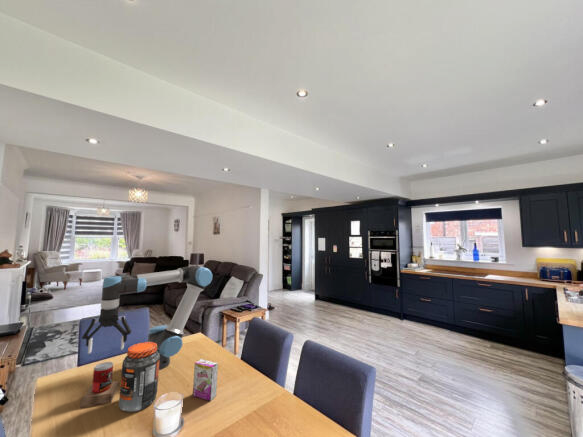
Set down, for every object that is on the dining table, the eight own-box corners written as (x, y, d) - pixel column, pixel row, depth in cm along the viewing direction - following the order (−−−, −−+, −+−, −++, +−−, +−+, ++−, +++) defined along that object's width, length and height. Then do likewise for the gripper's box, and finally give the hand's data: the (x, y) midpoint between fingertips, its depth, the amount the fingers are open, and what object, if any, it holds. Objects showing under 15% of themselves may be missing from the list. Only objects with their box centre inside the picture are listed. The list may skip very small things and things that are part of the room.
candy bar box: (191, 396, 124) (194, 362, 126) (198, 391, 129) (200, 358, 130) (210, 402, 120) (212, 367, 122) (216, 396, 125) (218, 362, 127)
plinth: (118, 388, 129) (119, 380, 129) (111, 402, 118) (111, 393, 118) (90, 392, 125) (91, 384, 125) (80, 407, 113) (81, 398, 114)
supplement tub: (117, 399, 120) (122, 344, 122) (153, 389, 129) (157, 337, 132) (119, 419, 107) (124, 357, 110) (159, 405, 117) (163, 348, 119)
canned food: (100, 394, 117) (103, 370, 118) (87, 392, 119) (89, 368, 120) (115, 385, 125) (117, 362, 126) (102, 383, 126) (104, 360, 127)
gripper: (139, 303, 134) (136, 344, 132) (82, 307, 125) (78, 351, 123) (136, 307, 127) (133, 350, 125) (76, 311, 118) (71, 357, 116)
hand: (106, 350), depth 124 cm, fingers open, 13 cm apart
